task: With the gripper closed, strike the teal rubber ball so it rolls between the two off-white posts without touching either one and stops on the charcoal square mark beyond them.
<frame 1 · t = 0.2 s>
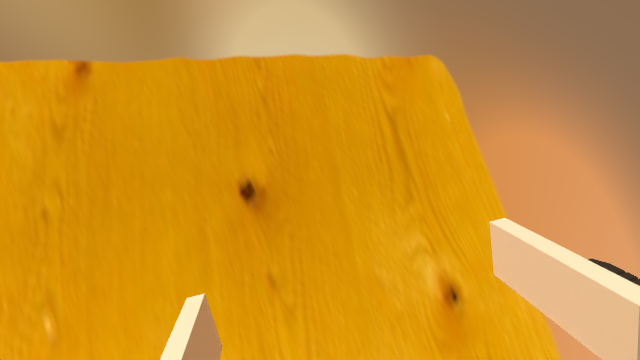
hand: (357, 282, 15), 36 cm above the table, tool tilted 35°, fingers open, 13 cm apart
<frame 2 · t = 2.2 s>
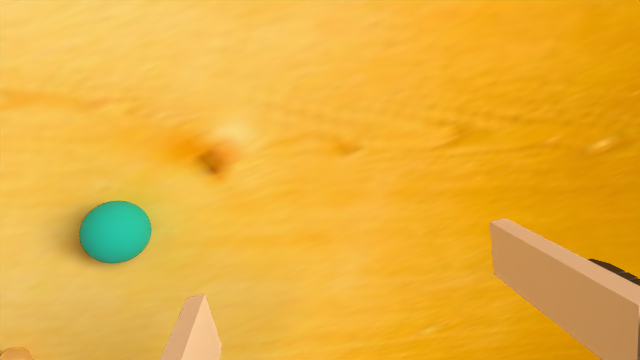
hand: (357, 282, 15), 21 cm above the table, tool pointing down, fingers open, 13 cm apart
ball: (117, 231, 30), on the table
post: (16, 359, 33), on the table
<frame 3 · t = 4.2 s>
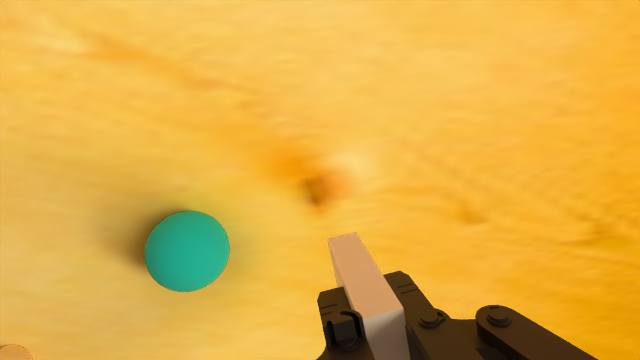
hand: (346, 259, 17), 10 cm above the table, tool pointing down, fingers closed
ball: (188, 250, 24), on the table
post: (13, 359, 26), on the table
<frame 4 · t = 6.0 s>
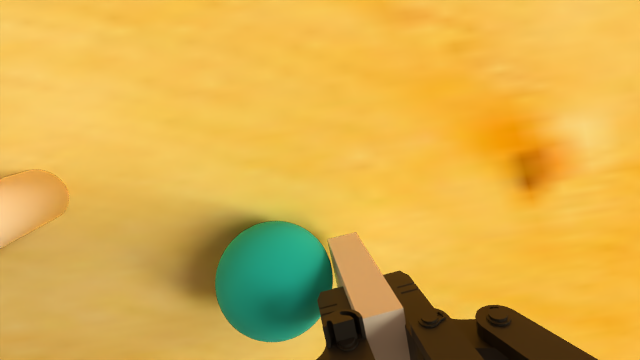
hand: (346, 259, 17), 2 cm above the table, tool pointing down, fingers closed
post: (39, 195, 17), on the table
ball: (275, 278, 16), on the table
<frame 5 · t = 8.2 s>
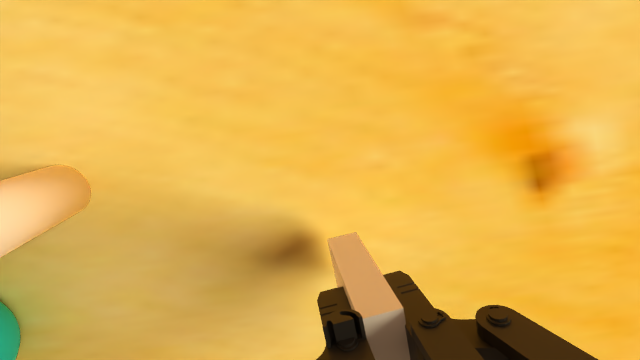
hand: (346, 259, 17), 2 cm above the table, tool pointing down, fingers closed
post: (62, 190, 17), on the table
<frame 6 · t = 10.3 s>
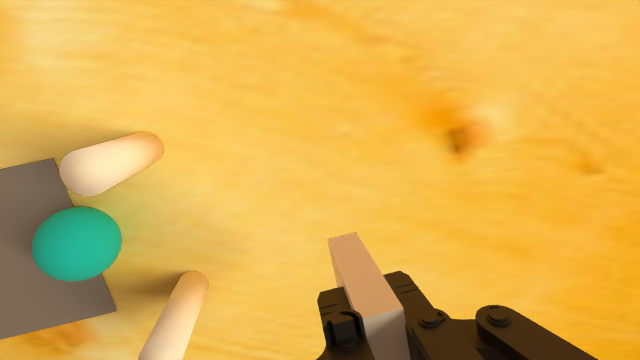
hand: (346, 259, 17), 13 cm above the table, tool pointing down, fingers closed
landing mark: (0, 258, 28), on the table
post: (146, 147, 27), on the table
ball: (79, 243, 26), on the table
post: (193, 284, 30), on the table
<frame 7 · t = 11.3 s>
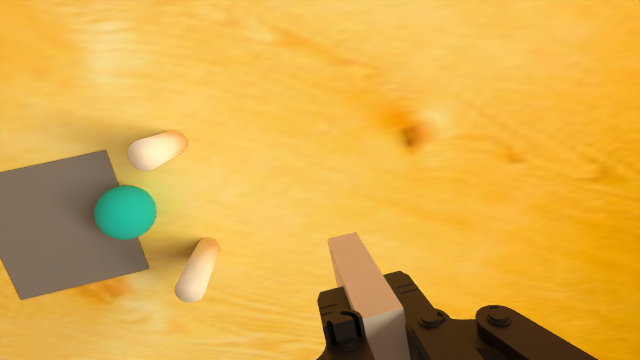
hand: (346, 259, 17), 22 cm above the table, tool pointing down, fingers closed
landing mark: (62, 227, 37), on the table
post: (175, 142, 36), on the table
ball: (126, 212, 35), on the table
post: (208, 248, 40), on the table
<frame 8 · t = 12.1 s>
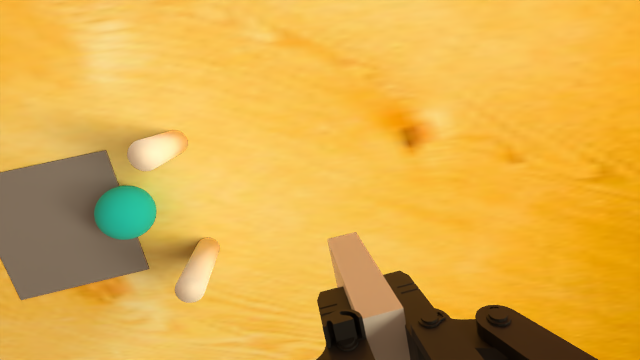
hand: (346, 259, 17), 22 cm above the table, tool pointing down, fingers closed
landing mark: (62, 227, 37), on the table
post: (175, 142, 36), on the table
ball: (126, 212, 35), on the table
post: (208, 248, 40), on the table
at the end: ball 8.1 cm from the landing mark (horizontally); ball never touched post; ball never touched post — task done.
